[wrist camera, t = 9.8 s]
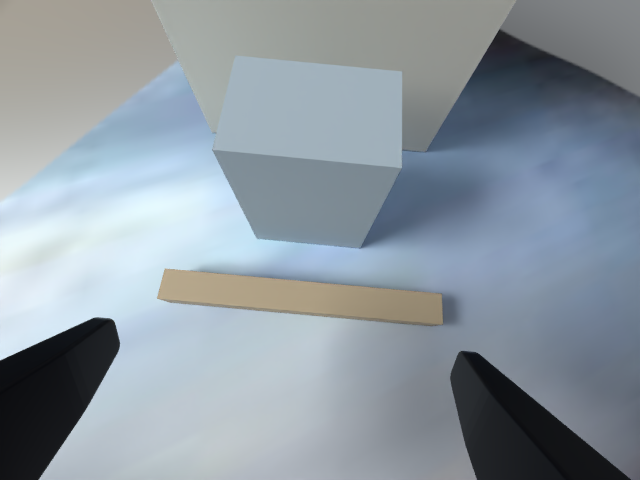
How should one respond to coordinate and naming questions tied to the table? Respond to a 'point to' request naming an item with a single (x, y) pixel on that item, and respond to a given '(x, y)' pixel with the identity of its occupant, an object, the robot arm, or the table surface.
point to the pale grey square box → (310, 147)
